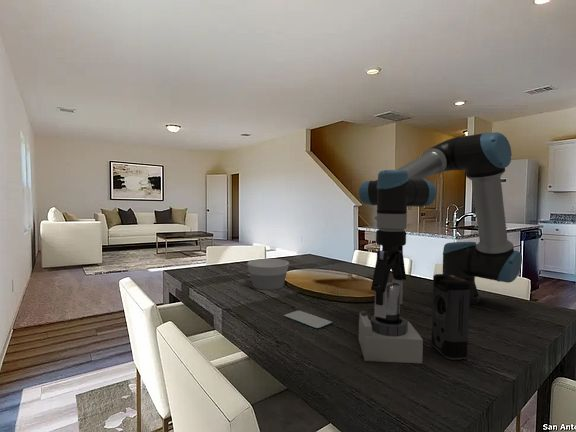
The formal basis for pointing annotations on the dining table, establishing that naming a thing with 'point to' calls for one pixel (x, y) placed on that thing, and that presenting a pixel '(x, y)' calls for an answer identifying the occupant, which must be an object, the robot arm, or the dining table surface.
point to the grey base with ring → (389, 341)
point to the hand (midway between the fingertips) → (389, 309)
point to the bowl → (268, 273)
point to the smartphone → (308, 319)
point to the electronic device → (450, 316)
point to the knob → (392, 304)
